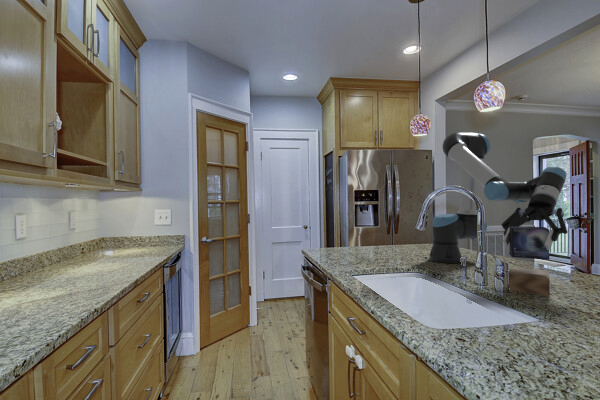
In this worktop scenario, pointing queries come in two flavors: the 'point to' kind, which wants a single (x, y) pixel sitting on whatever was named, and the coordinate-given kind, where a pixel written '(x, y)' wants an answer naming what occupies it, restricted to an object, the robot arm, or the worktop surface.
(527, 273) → the walnut plinth
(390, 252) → the worktop surface
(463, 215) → the robot arm
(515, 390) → the worktop surface
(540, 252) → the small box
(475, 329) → the worktop surface
